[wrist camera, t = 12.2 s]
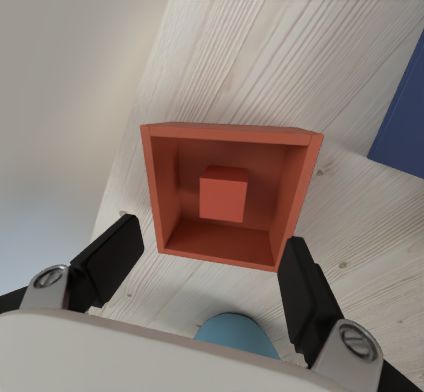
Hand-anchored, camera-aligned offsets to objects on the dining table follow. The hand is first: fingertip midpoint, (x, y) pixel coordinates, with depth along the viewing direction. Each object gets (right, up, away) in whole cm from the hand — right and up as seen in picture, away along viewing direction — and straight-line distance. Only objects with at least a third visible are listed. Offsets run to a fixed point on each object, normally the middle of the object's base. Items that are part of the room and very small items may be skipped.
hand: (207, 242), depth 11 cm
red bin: (+2, +5, +11) cm, 12 cm away
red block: (+2, +4, +10) cm, 11 cm away
